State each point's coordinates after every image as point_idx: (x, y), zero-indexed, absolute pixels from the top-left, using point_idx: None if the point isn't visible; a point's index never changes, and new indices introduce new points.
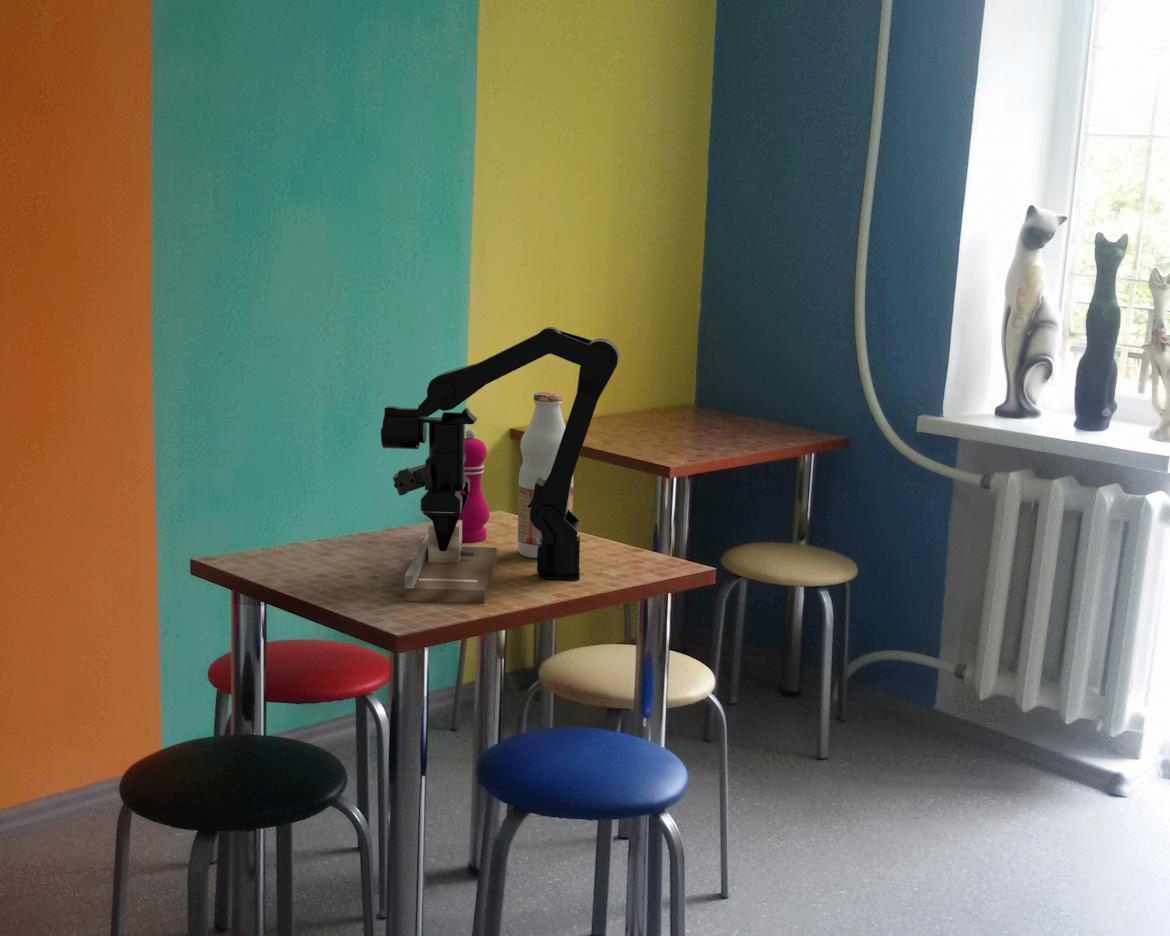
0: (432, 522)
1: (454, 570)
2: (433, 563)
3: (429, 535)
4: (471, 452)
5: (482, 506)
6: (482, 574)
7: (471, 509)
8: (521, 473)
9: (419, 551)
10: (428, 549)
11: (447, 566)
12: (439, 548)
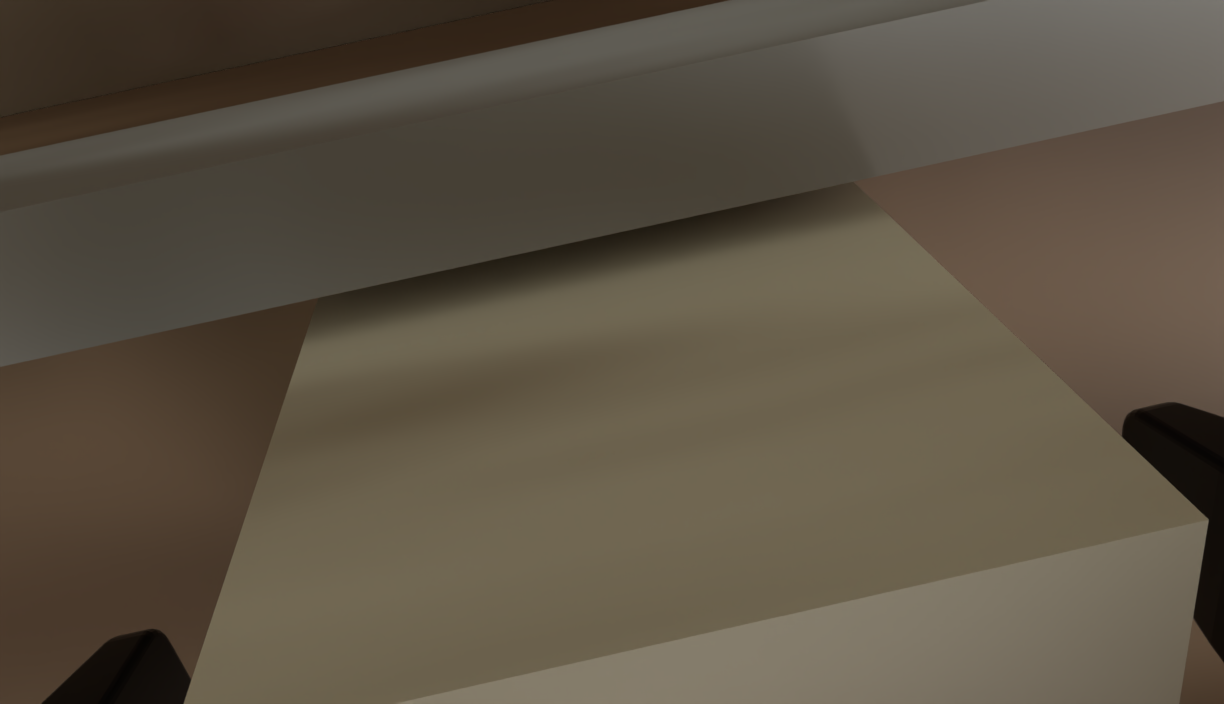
0: (727, 685)
1: (53, 689)
2: (280, 354)
3: (251, 558)
4: None
5: None
6: None
7: None
8: None
9: (98, 234)
10: (302, 357)
11: (206, 564)
12: (87, 668)
